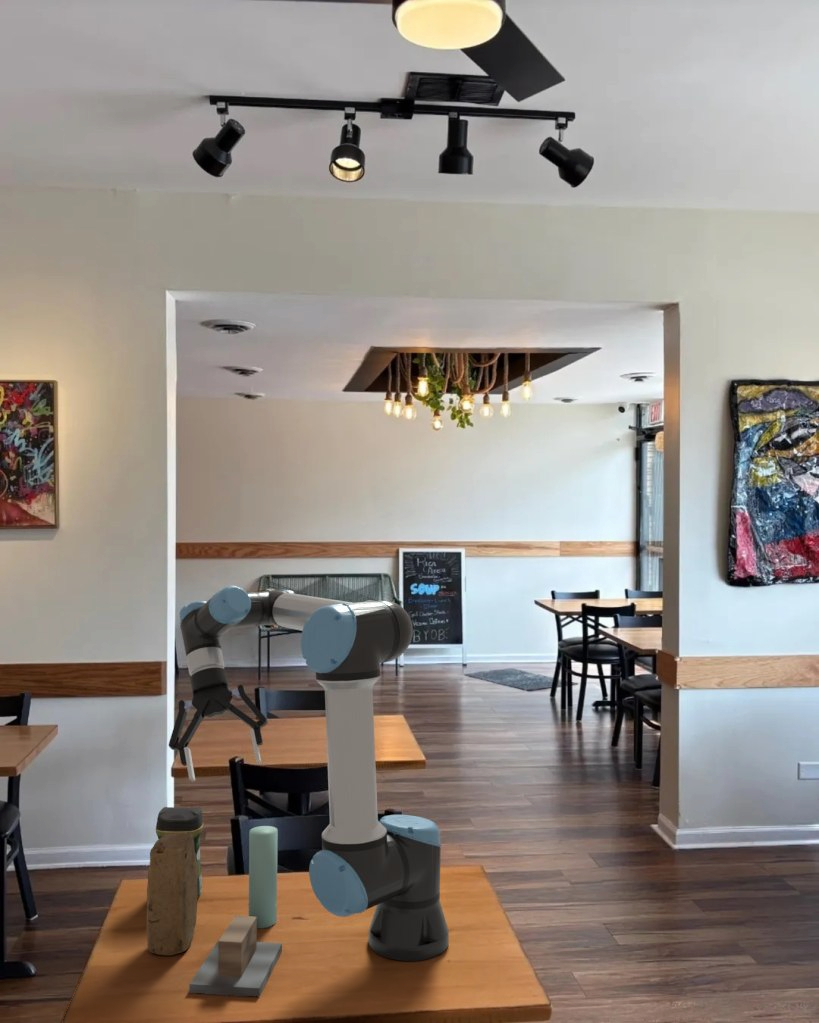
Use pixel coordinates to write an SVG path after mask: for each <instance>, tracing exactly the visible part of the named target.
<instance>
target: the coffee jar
mask: <svg viewBox="0 0 819 1023" xmlns="http://www.w3.org/2000/svg"><path fill="white" fill-rule="evenodd" d="M203 828H204V820H203V812H202V808H201V807H200V806H198V807H197V806H196V807H185V806H183V807H181V806H180V807H174V806H173V807H172V806H171V807H168V806H164V807H163V808H161V810H160V811H159V812H158V815H157V818H156V825H155V834H156V836H157V838H158V839H157V840H159V839H160V838H161V837H162V836H163V835H165V834H174V833H185V834H191V835H192V836H193V839H194V849H195V854H196V863H197V898H199V896H200V895H201V893H202V892H203V891H202V890H203V878H202V867H201V866H202V865H201V849H200V848H201V835H202V832H203V830H204V829H203Z"/></svg>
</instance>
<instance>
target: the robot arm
mask: <svg viewBox="0 0 819 1023" xmlns="http://www.w3.org/2000/svg"><path fill="white" fill-rule="evenodd" d="M179 620H180V623H179V626H180V630H181V631H180V632H181V635H182V640H183V646H184V652H185V656H186V662H187V668H188V674H189V675H190V678H189V681H190V687H191V691H192V699H191V700H183V699H181V700H179V701H178V712H177V716H176V720H175V722H174V725H173V729H172V732H171V736H170V739H169V741H168V747H169V748H170V749H171V750H172V751H175V750H176V751H178V753H179V759H180V764H181V765H182V766H183V767H184V766H185V767H186V768H187V775H188V779H189V780H190V781H191V782H195V781H196V777H195V776H196V775H195V770H194V764H193V759H192V752H191V749H190V747H189V744H190V743H191V741H192V739H193V737H194V735H195V734H196V731H197V730H198V728H199V726H200V725H201V723H202V722H203V721H204V719H205V717H207V718H212V717H214V716H216V715H218V716H220V715H223V714H224V713H225V712H226V711H227V712H228V713H230V714H231V715H233V716H234V717H236V718H237V719H239V720H240V721H242V722H243V723H244V724H246V726H249V727H250V728H252V729H249V732H250V733H249V734H250V736H251V737H250V738H251V742H252V748H253V754H254V756H255V757H254V758H255V761H256V763H257V764H262V759H261V754H260V748H259V746H262V745H263V743H264V741H263V737H262V732H261V729H262V728H263V727H265V726H267V725H268V722H269V721H268V720H267V718H266V717H265V715H264V714H263V713H262V711H261V710H260V709H259V708H258V707H257V705H255V703H254V702H253V701H252V700H251V699H250V697H249V696H248V695H247V692H246V689H245V688H244V685H242V684H238V686H237V687H236V688H234V689H231V688H230V687H229V682H228V677H227V672H226V669H225V662H224V655H223V650H222V646H221V639H220V637H221V636H223V635H224V634H225V633H226V632H227V633H228V631H230V630H231V629H232V630H233V629H239V628H247V627H248V628H250V627H259V626H276V627H279V628H280V627H281V628H286V629H291V630H297V631H301V637H300V649H301V655H302V658H303V659H304V660H305V664H306V665H307V667H308V668H309V669H310V670H312V671H313V672H315V682H316V683H318V684H319V685H320V686H322V688H323V690H324V699H325V700H324V702H325V706H324V707H325V725H326V726H325V728H326V730H325V732H326V753H327V755H326V756H327V780H328V781H327V782H328V783H327V784H328V785H327V786H328V806H329V807H328V808H329V812H328V813H329V824H328V825H327V827H325V829H324V830H323V831H322V832H321V847H322V850H319V851H317V852H316V853H315V854H314V855H313V856H312V859H311V860H310V863H309V868H308V875H309V881H310V885H311V889H312V891H313V893H314V895H315V897H316V899H317V900H318V901H319V903H320V904H321V905H322V907H323V908H324V909H325V910H326V911H327V912H328V913H330V914H332V915H334V916H336V917H339V918H346V917H349V916H350V917H351V916H352V915H356V914H362V913H364V912H366V911H367V910H369V909H371V908H374V907H375V909H374V913H373V916H372V918H371V922H370V926H369V929H368V945H369V947H370V949H371V950H372V951H373V952H375V953H376V954H377V955H378V956H379V955H380V956H381V957H384V958H387V959H389V960H394V961H395V960H396V961H404V962H416V961H424V960H428V959H431V958H434V957H437V956H439V955H441V954H443V953H444V951H446V949H447V948H448V947H449V943H450V941H449V938H450V935H449V934H450V933H449V927H448V923H447V920H446V917H445V914H444V910H443V907H442V905H441V900H440V898H441V897H440V896H441V852H442V851H441V848H442V843H441V831H440V828H439V826H438V824H437V823H435V822H434V821H432V820H431V819H428V818H425V817H423V816H415V815H410V814H390V815H384V816H382V817H381V818H380V819H379V816H378V795H377V794H378V793H377V768H376V767H377V766H376V748H375V746H376V744H375V743H376V742H375V722H374V721H375V720H374V699H373V698H374V697H373V696H374V694H373V693H374V692H373V687H374V685H375V684H376V682H378V680H379V679H380V678H381V664H383V663H388V662H391V661H394V660H395V659H398V658H400V656H402V655H403V654H404V653H405V652H406V651H407V650H408V648H409V646H410V644H411V642H412V638H413V635H414V634H413V633H414V629H413V623H412V620H411V617H410V615H409V614H408V612H407V610H405V609H404V607H402V606H401V605H399V604H398V603H396V602H393V601H391V600H373V599H371V600H365V601H359V602H351V601H345V600H344V601H343V600H340V599H339V600H337V599H330V598H327V597H326V598H324V597H318V596H314V595H313V596H312V595H311V596H310V595H306V594H305V595H304V594H298V593H295V592H294V591H293V590H290V589H278V588H277V589H273V590H272V589H271V590H261V591H259V590H258V591H246V590H245V589H243V588H241V587H238V586H236V585H227V586H225V587H224V588H222V589H221V590H218V591H217V592H216V593H215V594H213V595H212V596H211V597H210V598H209V599H208V600H206V601H205V600H199V601H193V602H190V603H189V604H186V605H184V606H183V607H182V608H180V611H179ZM233 696H235V697H236V698H237V699H241V700H242V701H243V703H244V704H245V705H246V707H247V708H248V709H249V710H250V711H251V713H252V714H253V715H254V716H255V717H256V719H257V721H255V720H254V719H253V718H252V717H250V716H249V715H247V714H246V713H244V712H243V711H242V710H240V709H239V708H237V707H236V706H235V705H234V704H232V703H231V701H232V698H233ZM192 707H193V708H194V709H196V711H195V713H194V715H193V718H192V719H191V721H190V723H189V725H188V727H187V728H186V730H185V732H184V733H183V729H184V726H185V723H186V719H187V716H188V715H187V714H188V712H190V710H191V708H192ZM182 733H183V735H182ZM181 736H182V737H181Z"/></svg>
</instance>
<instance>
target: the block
mask: <svg viewBox="0 0 819 1023" xmlns="http://www.w3.org/2000/svg"><path fill="white" fill-rule="evenodd" d="M197 911H198V897H197V863H196V854H195V849H194V839H193V836H192V835H191V834H185V833H174V834H165V835H163V836H162V837H161V838H160V839H157V840H156V842H154V844H153V846H152V848H151V849H150V852H149V867H148V870H147V888H146V939H147V940H146V941H147V949H148V951H149V952H150V953H152V954H156V955H159V956H174V955H178V954H181V953H184V952H185V951H186V950H188V949H189V948H190V946H191V944H192V942H193V940H194V934H195V928H196V924H197V914H198V912H197Z"/></svg>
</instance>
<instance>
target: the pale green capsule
mask: <svg viewBox="0 0 819 1023" xmlns="http://www.w3.org/2000/svg"><path fill="white" fill-rule="evenodd" d="M278 832H279V831H278V828H277V827H275V826H271V825H260V826H255V827H253V828H251V829H249V834H248V836H249V837H248V838H249V839H248V840H249V841H248V845H249V846H248V852H249V853H248V854H249V855H248V860H249V861H248V916H255V917H257V929H266V928H271V927H273V926H274V924H275V923H277V922H278V915H277V914H278V913H277V912H278V908H277V907H278V834H279V833H278ZM272 925H273V926H272ZM275 925H276V924H275ZM270 926H271V927H270Z"/></svg>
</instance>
